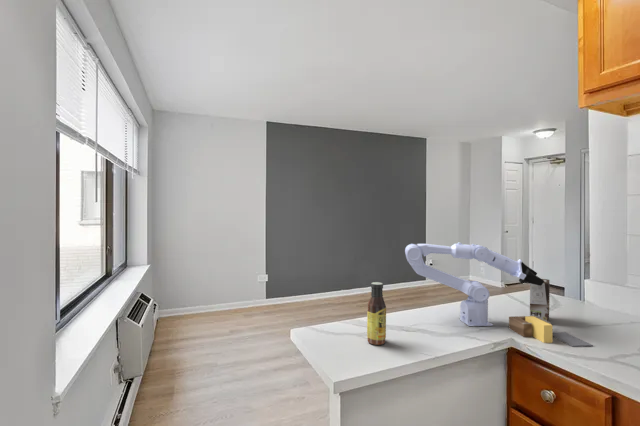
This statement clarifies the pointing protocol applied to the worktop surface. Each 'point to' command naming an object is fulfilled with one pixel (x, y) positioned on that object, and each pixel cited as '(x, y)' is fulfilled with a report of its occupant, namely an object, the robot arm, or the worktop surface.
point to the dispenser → (521, 325)
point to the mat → (570, 339)
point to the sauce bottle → (376, 315)
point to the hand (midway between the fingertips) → (538, 279)
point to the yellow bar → (540, 329)
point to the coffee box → (540, 300)
